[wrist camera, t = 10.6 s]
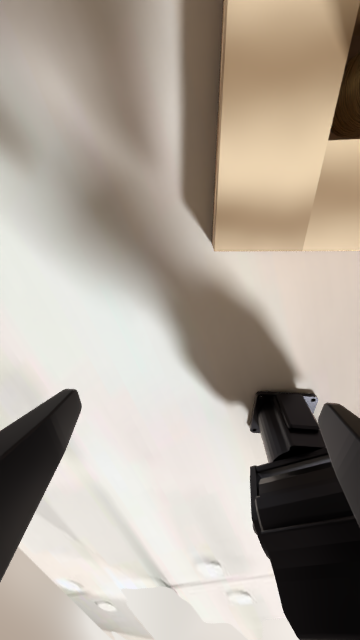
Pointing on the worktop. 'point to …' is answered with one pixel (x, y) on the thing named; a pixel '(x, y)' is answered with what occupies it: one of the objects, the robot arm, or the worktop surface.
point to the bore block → (285, 128)
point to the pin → (348, 102)
